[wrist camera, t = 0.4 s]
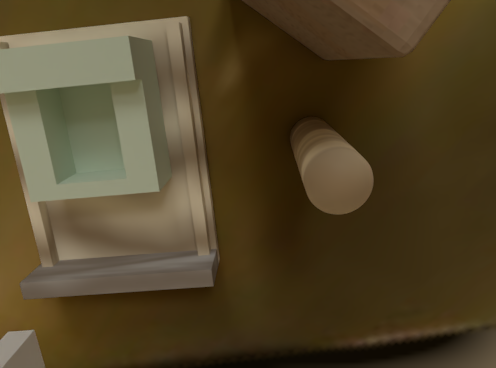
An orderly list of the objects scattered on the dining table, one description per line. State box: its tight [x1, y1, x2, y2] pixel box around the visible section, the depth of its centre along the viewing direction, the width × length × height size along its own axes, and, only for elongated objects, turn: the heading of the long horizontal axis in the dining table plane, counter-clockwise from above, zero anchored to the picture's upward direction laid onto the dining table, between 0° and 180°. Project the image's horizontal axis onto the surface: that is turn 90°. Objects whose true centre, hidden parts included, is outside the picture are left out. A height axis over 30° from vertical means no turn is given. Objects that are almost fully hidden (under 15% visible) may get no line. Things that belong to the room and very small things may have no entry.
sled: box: [0, 36, 172, 202], centre depth 32 cm, size 11×10×6 cm
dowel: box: [290, 117, 373, 215], centre depth 29 cm, size 4×4×14 cm
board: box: [0, 16, 220, 299], centre depth 35 cm, size 21×16×5 cm
